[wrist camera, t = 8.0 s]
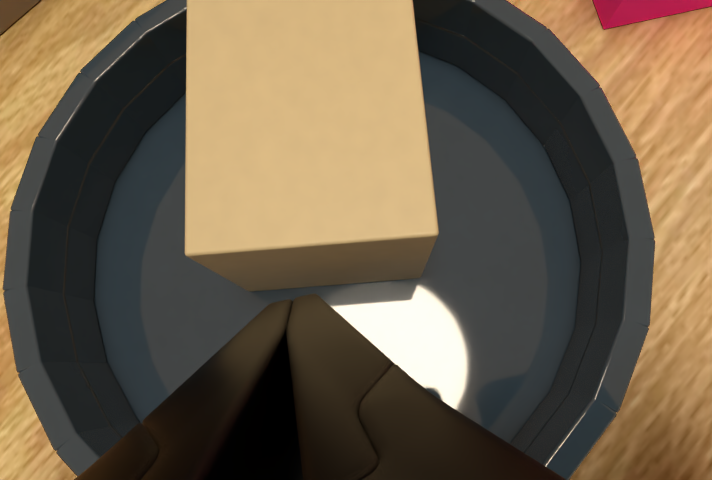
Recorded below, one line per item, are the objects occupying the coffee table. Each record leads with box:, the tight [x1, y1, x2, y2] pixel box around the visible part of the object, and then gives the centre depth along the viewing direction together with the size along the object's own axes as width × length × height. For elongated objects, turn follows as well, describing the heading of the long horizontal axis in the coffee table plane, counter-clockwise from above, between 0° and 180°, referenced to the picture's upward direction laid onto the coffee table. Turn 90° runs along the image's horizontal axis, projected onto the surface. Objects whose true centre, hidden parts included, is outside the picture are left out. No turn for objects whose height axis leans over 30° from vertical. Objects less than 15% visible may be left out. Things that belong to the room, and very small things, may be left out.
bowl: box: [3, 0, 655, 480], centre depth 14 cm, size 15×15×4 cm
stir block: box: [185, 0, 439, 291], centre depth 13 cm, size 5×5×8 cm
